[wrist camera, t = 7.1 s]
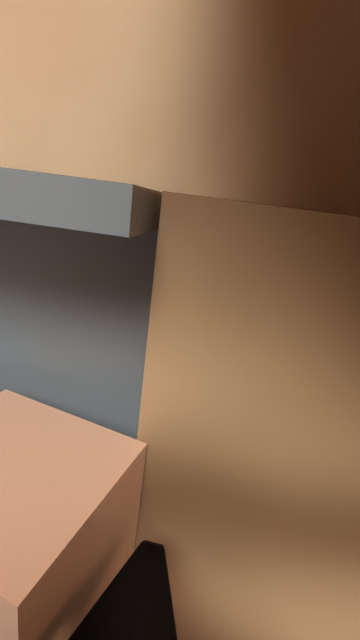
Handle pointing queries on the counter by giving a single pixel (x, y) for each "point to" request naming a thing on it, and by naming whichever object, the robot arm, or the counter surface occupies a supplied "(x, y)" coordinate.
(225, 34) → the counter surface
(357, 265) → the board
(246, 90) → the counter surface
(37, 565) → the peach cube
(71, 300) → the tray
